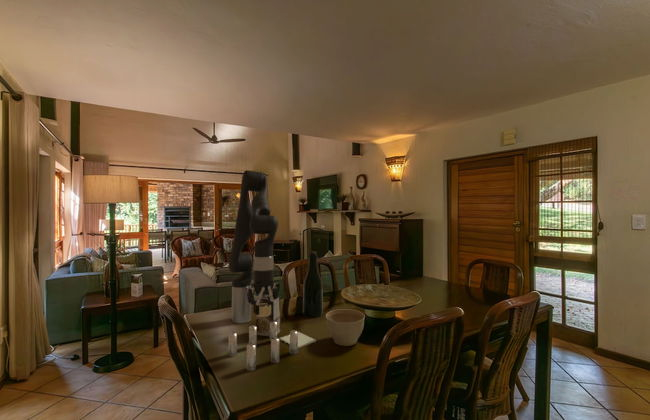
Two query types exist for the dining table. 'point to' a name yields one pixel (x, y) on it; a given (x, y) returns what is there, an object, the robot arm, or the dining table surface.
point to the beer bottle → (313, 290)
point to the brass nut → (264, 310)
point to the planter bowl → (345, 326)
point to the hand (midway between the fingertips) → (263, 312)
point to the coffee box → (268, 318)
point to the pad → (299, 340)
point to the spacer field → (253, 344)
